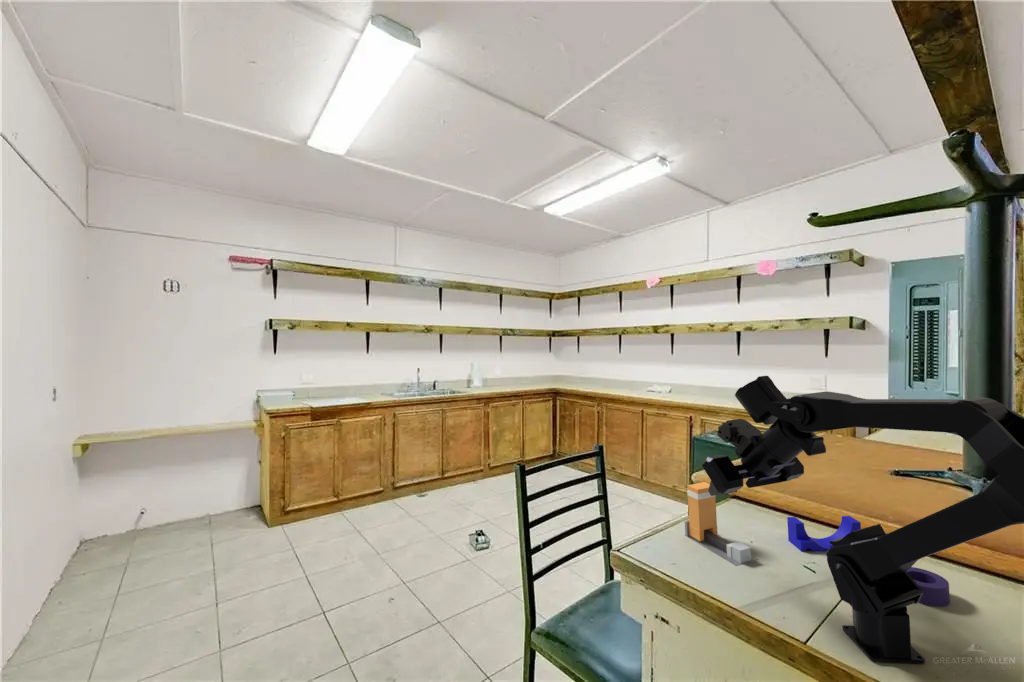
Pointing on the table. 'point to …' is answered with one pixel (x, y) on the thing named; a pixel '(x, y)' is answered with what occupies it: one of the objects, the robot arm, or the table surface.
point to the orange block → (701, 510)
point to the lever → (931, 587)
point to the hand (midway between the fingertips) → (729, 489)
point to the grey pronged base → (724, 547)
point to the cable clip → (804, 542)
